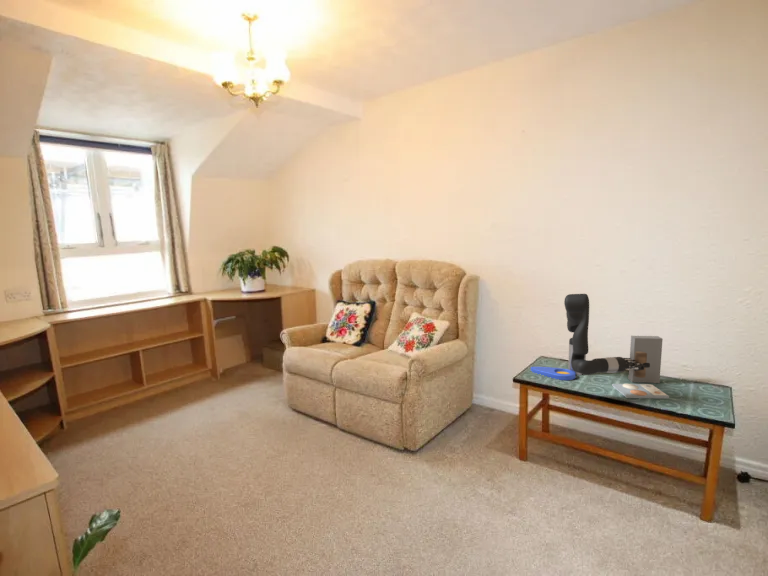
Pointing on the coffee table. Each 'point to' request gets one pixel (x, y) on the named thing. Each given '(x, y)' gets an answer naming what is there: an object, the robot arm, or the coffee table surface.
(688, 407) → the coffee table surface
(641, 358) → the brown upright cylinder
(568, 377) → the location marker
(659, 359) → the tall grey upright box
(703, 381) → the coffee table surface
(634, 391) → the board
